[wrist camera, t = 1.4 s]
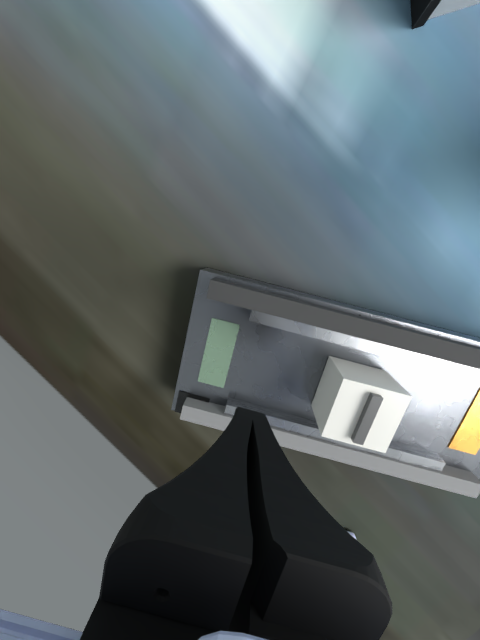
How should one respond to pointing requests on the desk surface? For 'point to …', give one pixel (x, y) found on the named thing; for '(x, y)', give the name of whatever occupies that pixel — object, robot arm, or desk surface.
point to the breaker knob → (359, 404)
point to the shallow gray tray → (359, 328)
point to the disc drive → (435, 9)
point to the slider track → (307, 368)
